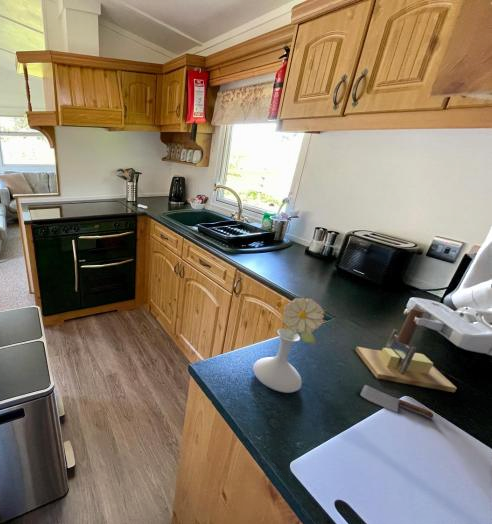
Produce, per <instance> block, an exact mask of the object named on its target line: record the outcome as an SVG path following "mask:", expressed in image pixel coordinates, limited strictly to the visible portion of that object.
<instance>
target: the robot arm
mask: <svg viewBox="0 0 492 524" xmlns="http://www.w3.org/2000/svg"><path fill="white" fill-rule="evenodd" d="M474 255H475V256H474V257H473V258H472V259H471V261H470V263H469V264H468V266H467V268H466V270H465V272H464V273H463V276H462V277H461V279H460V281H459V283H458V285H457V286H456V288H455V289H454V290H453V291H451V292H450V293H448V294H447V295H445V297H444V298H443V303H441V302H439V301H435V300H432V299H427V298H421V297H410V298H409V300H408V302H407V304H406V308H405V309H404V311H403V315H404V316H405V317H407V316H408V314H409V312H410V310H411V308H412V307H417V308H420V309H422V310H424V311H425V312H424V314H423V316H422V317H419V316H416V317H415V318H414V320H413V321H414V322H415V323H416V324H417V325H418V326H422V327H425V328H428V329H430V330H434V331H436V332H438V333H439V334H440V335H441V336H443V337H444V338H445V339H447V340H448V341H449V342H451V343H452V344H453V345H455V346H456V347H458V348H460V349H463V350H466V351H469V352H474V353H480V354H486V355H488V356H491V357H492V226H491V228H490V229H489V232H488V234H487V236H486V238H485V240H484V241H483V242H482V245H481V246H480V248H479V249H478V250H477V252H476V254H474Z"/></svg>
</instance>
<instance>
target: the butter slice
mask: <svg viewBox="0 0 492 524" xmlns="http://www.w3.org/2000/svg"><path fill="white" fill-rule="evenodd" d="M381 351H382V352H381V354H380V356H379V358H380V359H381V361H382V362H383V363H384V364H385V365H386V366H387V367H391V368H396V366H397V363H398V361H399V359H400V357H399V356H398V355H397V354H396V353H395V352H394V351H393V350H392V349H389V348H385V347H382V349H381Z"/></svg>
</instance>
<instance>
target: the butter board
mask: <svg viewBox="0 0 492 524" xmlns="http://www.w3.org/2000/svg"><path fill="white" fill-rule="evenodd" d="M398 332H399V330H397V329H394V328H393V329H392V331H391V333H390V336H389V338H388V340H387V342H386V345H385V346H384V348H389V349H390V347H391V345H392V342H393V340H394V335H398ZM410 347H411V349H410V351H409V353H408V355H407V357H406V359H405V361H404V363H403V365H402V367H401V369H398V368H397V366H396V368H391V367H387V366H386V365H385V364H384V363H383V362H382V361H381V359H380V358H379V356H380V354H381V352H382V350H379V349H373V348H367V347H362V346H356V347H355V352H356V354H357V355H358V356H359V358H360V359H361V360H362V361H363V363H364V364H365V365H366V366H367V368H368V369H369V370H370V372H371V374H373V376H374V377H375V378H376V379H379V380H385V381H389V382H395V383H401V384H405V385H406V384H407V385H411V386H417V387H422V388H428V389H434V390H439V391H443V392H449V393H450V392H451V393H455V392H456V391H457V388H458V387H456V385H454V384H453V383H452V382H451V381H450V380H449V379H448V378H447V377H446V376H445V375H443V374H442V372H440V371H439V370H438V369H437V368H436V367H435V366H434V365H433V366H432V368H431V369H430V371H429V373H428V374H425V373H420V372H414V371H408V370H407V368H408V366H409V364H410V362H411V360H412V358H413V356H414V354H415V353H417V349H418V348H417V347H416V346H413V345H412V346H410Z"/></svg>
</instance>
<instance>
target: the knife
mask: <svg viewBox="0 0 492 524" xmlns="http://www.w3.org/2000/svg"><path fill="white" fill-rule="evenodd" d="M424 312H425V311H424V310H422V309H420V308H417V307H412V308H411V310H410V312H409V314H408V316H406V318H405V321H404V323H403V325H402V328H401V329H400V331H399V333H398V334H396V335H394V340H393V342H392V345H391V347H390V349H392V350H393V351H394V352H395V353H396V354H397V355H398V356H399V357H400V359H399V361H398V363H399V364H400V365H401V366H402V365H403V363H404V361H405V359H406V357H407V355H408V353H409V351H410V349H411V347H412V346H409V345H410V343H411V341H412V339H413V337H414V335H415V333H416V331H417V329H418V327H419V325H417V324H416V323H415V322H414V321H413V320H414V318H415V317H416V316H419V317H422V316H423V314H424Z"/></svg>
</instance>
